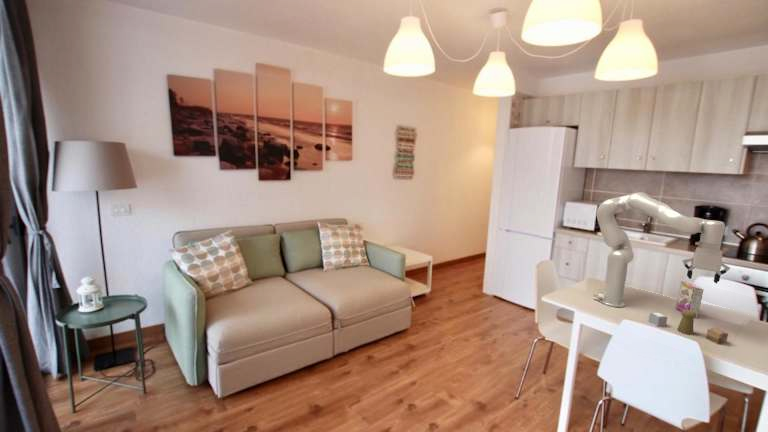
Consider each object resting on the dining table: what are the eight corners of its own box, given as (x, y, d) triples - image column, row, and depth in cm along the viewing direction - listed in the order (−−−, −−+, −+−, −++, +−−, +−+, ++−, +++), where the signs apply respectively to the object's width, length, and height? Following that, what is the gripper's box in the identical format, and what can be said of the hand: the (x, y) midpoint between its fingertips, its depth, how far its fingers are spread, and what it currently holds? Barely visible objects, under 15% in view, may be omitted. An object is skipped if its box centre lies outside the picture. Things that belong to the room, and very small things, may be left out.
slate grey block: (657, 326, 177) (659, 316, 176) (648, 321, 181) (650, 312, 180) (665, 326, 178) (667, 316, 177) (656, 321, 182) (658, 311, 181)
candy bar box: (674, 308, 199) (680, 280, 196) (685, 309, 199) (690, 281, 196) (687, 317, 189) (693, 288, 186) (698, 318, 188) (704, 289, 185)
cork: (673, 328, 175) (678, 307, 173) (685, 328, 175) (689, 308, 173) (684, 335, 169) (689, 313, 167) (696, 335, 169) (701, 313, 167)
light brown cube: (717, 344, 162) (719, 333, 161) (705, 338, 167) (708, 328, 166) (726, 343, 163) (728, 333, 162) (714, 337, 168) (716, 327, 167)
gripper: (687, 244, 171) (681, 278, 174) (736, 251, 162) (728, 286, 165) (684, 241, 177) (678, 274, 181) (731, 247, 169) (723, 282, 172)
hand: (702, 280), depth 173 cm, fingers open, 9 cm apart
